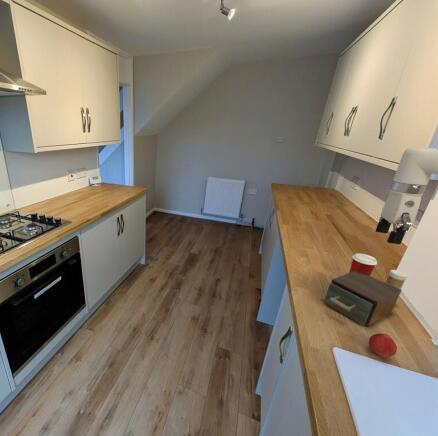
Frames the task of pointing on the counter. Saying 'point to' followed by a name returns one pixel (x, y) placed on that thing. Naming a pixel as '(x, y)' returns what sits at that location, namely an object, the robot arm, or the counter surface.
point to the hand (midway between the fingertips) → (386, 237)
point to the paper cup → (363, 263)
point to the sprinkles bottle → (396, 278)
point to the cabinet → (371, 293)
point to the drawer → (348, 303)
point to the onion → (383, 345)
